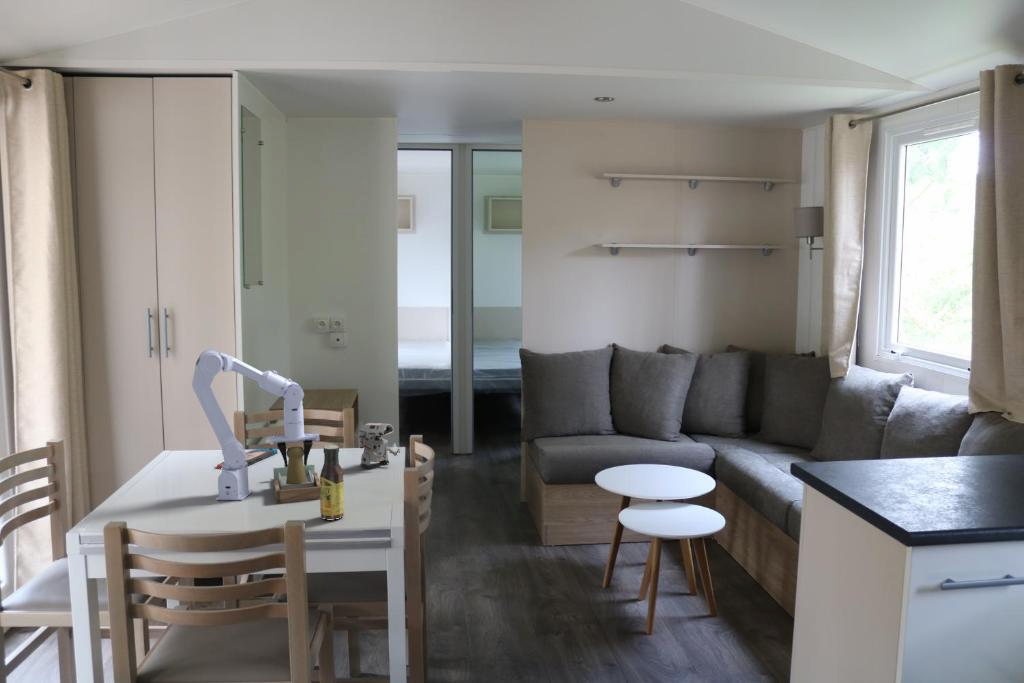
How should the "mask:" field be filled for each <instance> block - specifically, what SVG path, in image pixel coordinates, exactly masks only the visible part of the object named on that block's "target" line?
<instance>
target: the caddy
mask: <svg viewBox="0 0 1024 683" xmlns="http://www.w3.org/2000/svg"><path fill="white" fill-rule="evenodd" d="M313 480H314V487H309V488H299V489H289V490H280V484H279V478H278V477H274V476H273V482H274V483H273V484H274V485H273V486H274V492H275V499H276V500H275V501H276V504H286V503H285V502H287V503H292V502H291V501H297V502H300V501H299V500H306V501H308V500H307V499H316V498H320V477H319V475H318V472H315V473H314V475H313ZM316 500H317V499H316Z"/></svg>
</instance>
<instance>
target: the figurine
mask: <svg viewBox="0 0 1024 683" xmlns="http://www.w3.org/2000/svg"><path fill="white" fill-rule="evenodd" d="M360 431H361V432H364V433H366V434H367V436H369V437H364V436H363V437H361V438H360V443H359V449H363V453H362V454H361V456H360V457H361V458H360V461H361V462H360V467H361V468H362V467H364V468H363V469H366V468H367V469H366V470H371V469H372V465H371V463H379V462H381V463H385V464H387V463H388V464H390V460H389V454H392V455H393V456H395V457H396V456H398V453H399V454H400V453H401V450H400V448H398V449H397V450H396V451H395V450H393V449H392V448H391V447H390V446H388V439H386V438H383V437H385V436H387V435H390V434H392V433H394V427H393V425H392V424H391V423H381V422H379V423H378V422H377V423H376V422H375V423H373V422H367V423H365V424H363V425H362V427H360ZM364 438H365V439H364ZM388 451H389V454H388ZM381 463H380V464H381ZM385 464H384V465H385ZM388 464H387V465H388Z"/></svg>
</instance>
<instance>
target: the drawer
mask: <svg viewBox="0 0 1024 683" xmlns="http://www.w3.org/2000/svg"><path fill="white" fill-rule="evenodd" d="M272 468H273V470H272V471H273V478H274V477H278V483H279V485H280V490H289V489H299V488H309V487H314V473H316V472H315V463H307V465H304V470H305V476H306V483H296V484H286V480H287V470H288V467H285V464H284V465H283V466H275V467H272Z"/></svg>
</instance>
